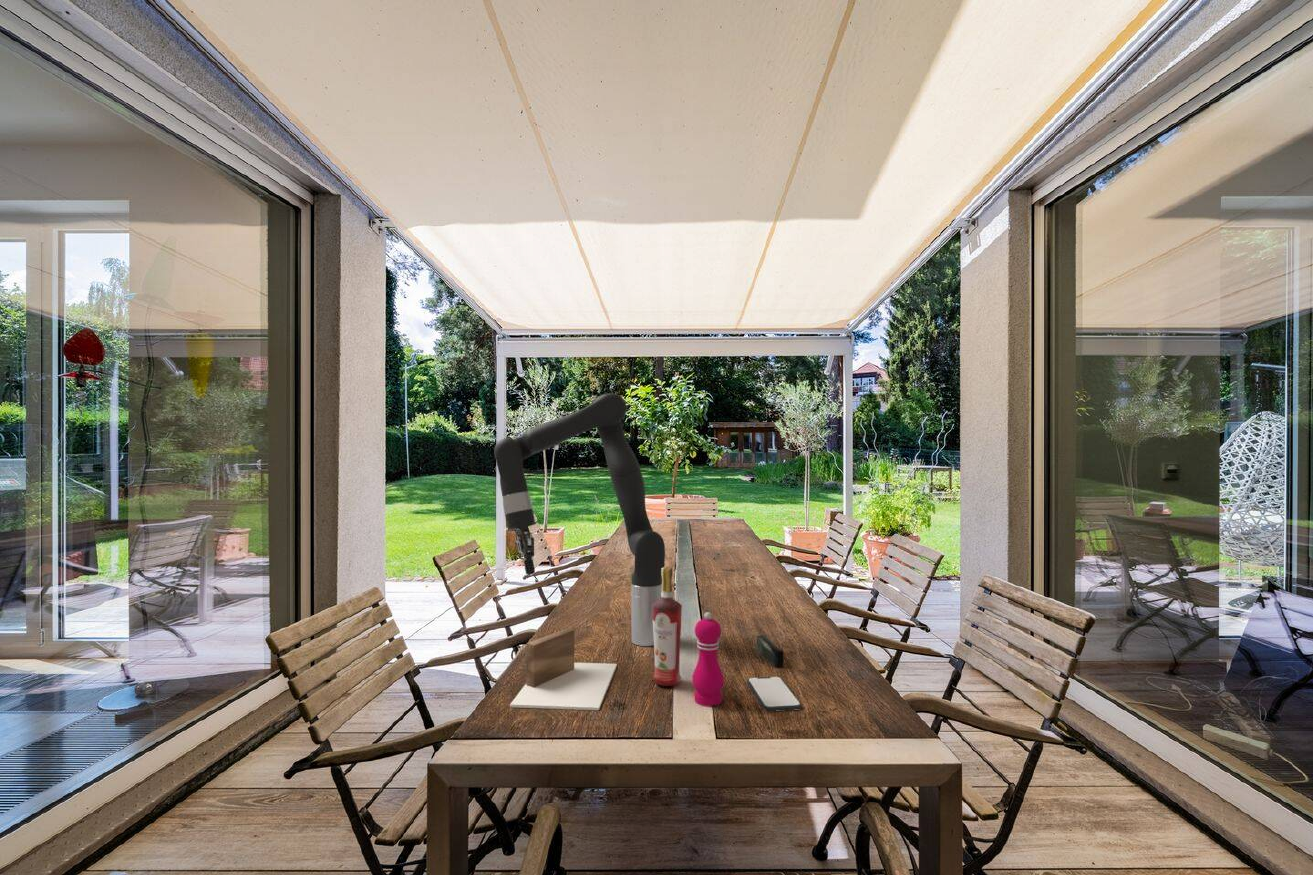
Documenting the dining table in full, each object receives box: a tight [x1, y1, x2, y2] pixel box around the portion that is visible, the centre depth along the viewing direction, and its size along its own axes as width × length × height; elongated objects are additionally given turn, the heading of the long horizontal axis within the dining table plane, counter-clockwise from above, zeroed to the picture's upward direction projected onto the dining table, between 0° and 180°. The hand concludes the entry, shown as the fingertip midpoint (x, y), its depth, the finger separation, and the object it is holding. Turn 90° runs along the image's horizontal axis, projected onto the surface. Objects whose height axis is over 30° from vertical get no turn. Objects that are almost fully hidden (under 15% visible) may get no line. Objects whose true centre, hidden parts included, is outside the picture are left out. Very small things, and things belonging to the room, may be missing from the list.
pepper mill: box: [692, 611, 725, 707], centre depth 132 cm, size 7×7×20 cm
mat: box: [509, 662, 618, 711], centre depth 140 cm, size 20×26×1 cm
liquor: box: [652, 566, 683, 687], centre depth 142 cm, size 7×7×28 cm
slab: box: [525, 628, 575, 688], centre depth 144 cm, size 3×14×10 cm, turn 145°
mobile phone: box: [753, 634, 785, 668], centre depth 158 cm, size 5×3×15 cm
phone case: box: [746, 676, 803, 712], centre depth 134 cm, size 9×2×16 cm
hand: (530, 573), depth 156 cm, fingers closed
